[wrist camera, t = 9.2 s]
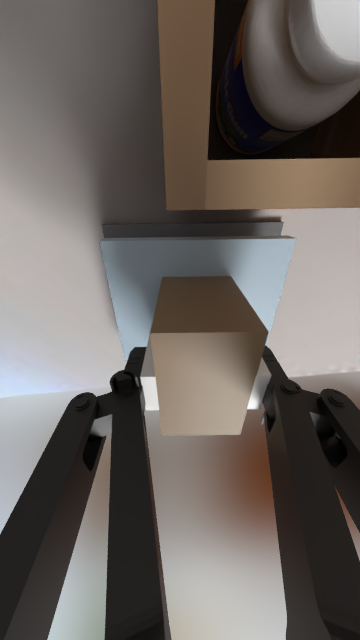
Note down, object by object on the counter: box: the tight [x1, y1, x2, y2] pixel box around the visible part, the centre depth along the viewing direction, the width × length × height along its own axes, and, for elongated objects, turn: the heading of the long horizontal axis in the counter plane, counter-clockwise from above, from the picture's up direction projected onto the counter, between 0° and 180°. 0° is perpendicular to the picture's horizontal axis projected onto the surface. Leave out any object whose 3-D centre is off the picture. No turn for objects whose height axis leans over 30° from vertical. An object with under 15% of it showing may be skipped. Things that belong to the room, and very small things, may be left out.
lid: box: [99, 236, 296, 436], centre depth 14 cm, size 13×13×9 cm
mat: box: [102, 222, 284, 238], centre depth 20 cm, size 15×14×1 cm
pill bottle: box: [216, 0, 360, 154], centre depth 9 cm, size 5×5×10 cm
